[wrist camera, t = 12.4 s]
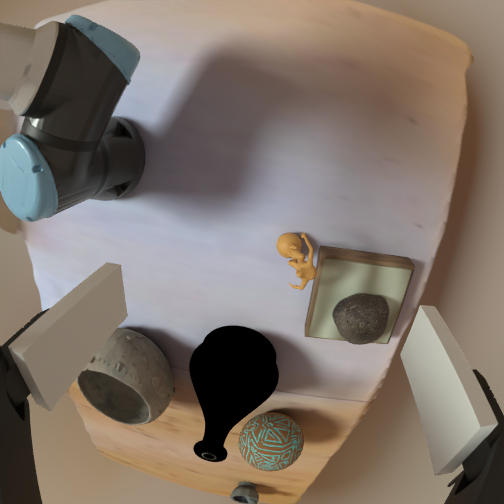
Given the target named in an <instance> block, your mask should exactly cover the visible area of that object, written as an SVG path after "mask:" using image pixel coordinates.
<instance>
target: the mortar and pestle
mask: <svg viewBox="0 0 504 504" xmlns="http://www.w3.org/2000/svg"><path fill="white" fill-rule="evenodd" d="M255 487H256V485H255V484H254V483H251V482H245V481H244V482H240V483H239V484H238V487H236V488H235V489H234V490H233V491H232V494H231V497H230V498H231V499H232V500H233V501H236V502H239V503H244V504H257V502H258V499H259V495H258V493H257V491H256V490H255Z"/></svg>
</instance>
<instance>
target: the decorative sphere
mask: <svg viewBox="0 0 504 504" xmlns="http://www.w3.org/2000/svg"><path fill="white" fill-rule="evenodd" d="M303 445H304V439H303V433H302V430H301V428H300V427H299V426H298V424H297V423H296V422H295V421H294V420H293V419H292V418H290V417H288V416H286V415H284V414H281V413H274V412H271V413H263V414H260V415H257V416H255V417H254V418H252V419H251V420H249V421H248V422H247V423H246V424H245V425H244V427H243V429H242V430H241V432H240V436H239V449H240V452H241V454H242V456H243V458H244V459H245V460H246V461H247V462H248V463H249V464H250V465H251V466H253V467H255V468H257V469H260V470H263V471H278V470H281V469H285V468H287V467H288V466H290V465H292V464H293V463H294V462H295V461H296V460H297V459H298V457H299V456H300V454H301V452H302V450H303Z"/></svg>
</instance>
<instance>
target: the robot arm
mask: <svg viewBox="0 0 504 504" xmlns="http://www.w3.org/2000/svg"><path fill="white" fill-rule="evenodd" d="M139 60H140V53H139V51H138V49H137V48H136V47H135V46H134V45H133V44H132V43H130V42H129V41H127V40H126V39H124V38H123V37H121V36H120V35H118V34H116V33H115V32H113V31H111V30H109V29H107V28H105V27H103V26H101V25H97V23H95V22H92V21H91V20H89V19H87V18H84V17H82V16H79V15H71V16H70V17H69V18H68V19H67V20H66V21H65V24H64V23H60V22H57V21H51V22H49V23H47V24H45V25H43V26H41V27H39V28H38V29H31V28H26V27H22V26H17V25H12V24H7V23H1V22H0V100H3V101H8V102H9V103H10V105H11V106H12V109H13V110H14V112H15V114H16V115H18V116H25V119H24V122H23V125H22V128H21V132H20V134H14V135H12V136H11V137H9V138H8V139H7V140H6V141H5V142H4V143H3V144H2V146H1V148H0V191H1V194H2V197H3V199H4V201H5V203H6V205H7V206H8V208H9V209H10V210H11V211H12V213H13V214H14V215H16V216H17V217H18V218H20V219H22V220H24V221H28V222H34V221H38V220H40V219H43V218H48V217H52V216H53V215H55V214H57V213H59V212H61V211H63V210H65V209H68V208H70V207H72V206H74V205H76V204H79V203H81V202H83V201H85V200H87V199H95V200H103V201H108V200H114V199H117V198H119V197H121V196H124V195H126V194H127V193H129V192H130V191H131V190H132V189H133V188H134V187H135V186H136V184H137V183H138V181H139V179H140V177H141V175H142V172H143V169H144V163H145V151H144V145H143V142H142V139H141V137H140V135H139V133H138V131H137V130H136V128H135V127H134V126H133V125H132V124H131V123H130V122H128V121H126V120H125V119H122V118H119V117H111V116H112V114H113V112H114V110H115V108H116V106H117V104H118V102H119V100H120V98H121V96H122V94H123V92H124V90H125V88H126V86H127V85H129V84H130V82H131V77H132V75H133V73H134V71H135V69H136V67H137V65H138V63H139ZM127 316H128V315H127V308H126V302H125V295H124V287H123V279H122V271H121V265H119V264H114V263H108V262H107V263H106V264H104V265H103V266H102V267H101V268H99V269H98V270H97V271H96V272H94V273H93V274H92V275H90V276H89V277H88V278H87V279H85V280H84V281H83V282H82V283H80V284H79V285H78V286H77V287H76V288H74V289H73V290H72V291H71V292H69V293H68V294H67V295H66V296H65V297H63V298H62V299H61V300H60V301H59V302H57V303H56V304H55V305H54V306H53V307H52V308H50V309H47V310H45V311H43V312H41V313H39V314H37V315H36V316H35V317H34V318H33V319H31V320H30V322H28V323H27V324H26V325H25V326H24V328H21V329H20V330H19V331H18V332H17V333H16V334H15V335H13V336H12V337H11V338H10V339H9V340H8V341H7V342H6V343H5V344H4V345H2V346H0V504H42V500H41V496H40V491H39V486H38V480H37V475H36V469H35V462H34V455H33V447H32V438H31V427H30V411H29V402H28V400H27V396H28V395H29V394H30V393H31V394H32V396H33V398H34V400H35V402H36V403H37V404H38V405H40V406H42V407H43V408H45V409H47V410H49V411H51V410H52V409H53V408H54V407H55V405H56V404H57V403H58V401H59V400H60V399H61V397H62V396H63V395H64V393H65V392H66V391H67V390H68V388H69V387H70V386H71V384H72V383H73V382H74V381H75V379H76V378H77V377H78V376H79V374H80V373H81V372H82V371H83V369H84V368H85V367H86V366H87V364H88V363H89V362H90V361H91V359H92V358H93V357H94V356H95V354H96V353H97V352H98V351H99V350H100V348H101V347H102V346H103V345H104V343H105V342H106V341H107V340H108V339H109V337H110V336H111V335H112V334H113V333H114V331H115V330H116V329H117V328H118V327H119V325H120V324H121V323H122V322H123V321H124V320H125V318H126V317H127ZM400 356H401V358H402V361H403V364H404V367H405V370H406V373H407V376H408V379H409V382H410V385H411V388H412V391H413V395H414V398H415V401H416V405H417V408H418V411H419V415H420V418H421V422H422V425H423V429H424V432H425V436H426V440H427V444H428V448H429V452H430V456H431V461H432V464H433V469H434V474H435V475H441V474H446V473H451V472H453V471H454V470H455V469H456V468H457V467H458V466H460V464H462V465H463V468H464V470H463V471H462V472H461V473H460V474H459V475H458V476H457V477H456V478H454V479H453V480H452V481H451V482H450V483H449V484H448V487H450V486H451V485H453V484H454V483H455V485H454V487H453V488H452V490H451V492H450V494H449V496H448V498H447V500H446V501H445V503H444V504H504V415H503V413H502V411H501V409H500V407H499V405H498V403H497V401H496V399H495V398H494V395H493V393H492V391H491V390H490V387H489V385H488V383H487V382H486V380H485V378H484V377H483V376H482V375H481V374H480V373H479V372H478V371H477V370H472V369H471V367H470V365H469V363H468V361H467V360H466V358H465V356H464V354H463V352H462V351H461V349H460V347H459V345H458V344H457V342H456V340H455V339H454V337H453V335H452V334H451V332H450V330H449V329H448V327H447V325H446V324H445V322H444V320H443V319H442V317H441V316H440V314H439V312H438V311H437V309H436V308H435V307H434V306H423V305H420V307H419V310H418V313H417V315H416V318H415V320H414V323H413V326H412V328H411V331H410V333H409V335H408V338H407V340H406V343H405V345H404V347H403V350H402V352H401V354H400Z"/></svg>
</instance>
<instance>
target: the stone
mask: <svg viewBox="0 0 504 504" xmlns="http://www.w3.org/2000/svg"><path fill="white" fill-rule="evenodd" d="M389 312H390V310H389V306H388V303H387V301H386V299H385V298H383V297H382V296H367V295H362V294H354V295H351V296H348V297H346V298H344V299H342V300H341V301H339V302H338V304H337V305H336V306H335V308H334V310H333V313H332V316H333V320H334V322H335V324H336V327H337V329H338V331H339V333H340V335H341V336H342V337H343V338H344V339H345V340H347V341H348V342H350V343H352V344H368V343H372V342H374V341H376V340H378V339H379V338H380V337H381V336H382V335H383V333H384V331H385V328H386V325H387V322H388V316H389Z"/></svg>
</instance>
